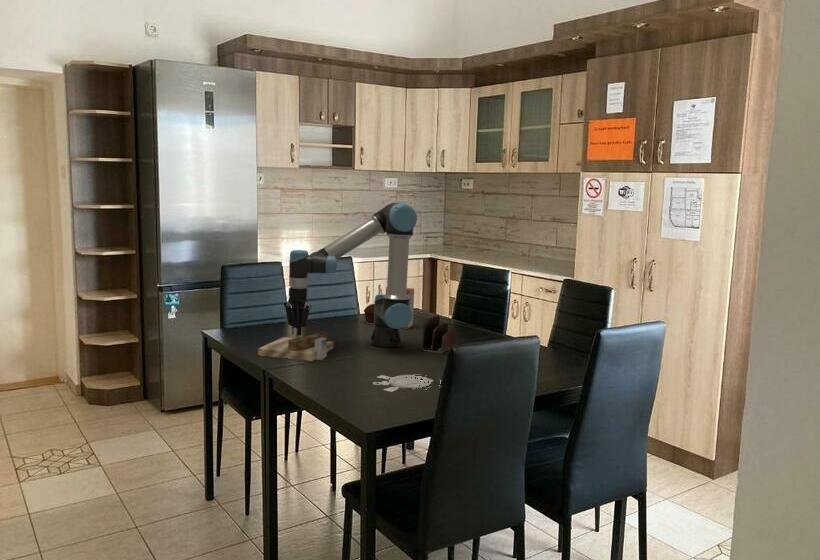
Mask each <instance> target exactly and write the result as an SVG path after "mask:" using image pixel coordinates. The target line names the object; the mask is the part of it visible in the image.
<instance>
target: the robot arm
mask: <svg viewBox="0 0 820 560" xmlns="http://www.w3.org/2000/svg"><path fill="white" fill-rule="evenodd" d="M417 222H418V215H417V212H416V210H415V209H414V207H412V206H411V205H409V204H407V203H403V202H401V203H399V202H392V203H389V204H387V205H386V206H384V207H382V208H381V209H380V210H378V211H377V212H375V213H374V214H372V215H371V217H370V219H368V220H367V221H365V222H363V223H362V224H360V225H358V226H357V227H354V228H353V229H352V230H350V231H348V232H347V233H345V234H344V235H342V236H340V237H338V238H337V239H336V240H334V241H332V242H331V243H329V244H327V245H325V246H324V247H323V248H320V249H319V250H317V251H313V252H311V253H310V254H309V251H308V250H304V249H302V250H301V249H293V250H291V251H290V252H289V261H288V262H289V263H288V264H289V266H288V267H289V270H288V272H289V275H288V277H289V278H288V280H289V281H288V286H289V287H288V297H289V298H288V300H287V301H285V302H283V306H284V308H285V314H286V319H287V325H288V326H290V327H291V329H292V331H291V334H292V336H293V337H292V338H293V339H296V338H300V337H301V335H302V329H303V327H306V326H307V322H308V318H309V315H310V314H309V313H310V310H312V307H313V306H312V304H309V303H308V300H307V296H308V288H307V287H308V274H327V275H329V274H335V273H336V272H337V266H338V264H337V263H338V259H341V257H343V256H345V255H346V254H348V253H350V252H351V251H353V250H355V249H357V248H358V247H360V246H362V245H363V244H365V243H366V242H368V241H369V240H371V239H373V238H374V237H376V236H378V235H379V234H383V235H384V234H386V236H388V238H389V240H388V258H387V259H388V263H387V278H386V281H387V282H386V287H387V293H386V292H385V294H376V295H375V296H374V301H373V304H375V307H374V325H373V328H372V330H371V335H370V337H369V345H371V346H373V345H375V347H378V346H382V347H381V348H391V347H390V346H398V345H401V344H402V345H403V341H404V339H403V336H402V332H401V329H403V328H404V327H405V326H407V325H408V324H409V322H410V320H411V317H412V313H411V310H410V308H409V299H410V298H409V296H408V295H407V294H406V290H407V288H408V270H409V269H408V266H409V250H410V239H411V238H412V237H413V236H414V228H415V226H416V224H417ZM402 345H401V346H402ZM398 347H399V346H398Z"/></svg>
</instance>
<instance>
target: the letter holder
mask: <svg viewBox="0 0 820 560" xmlns="http://www.w3.org/2000/svg"><path fill="white" fill-rule="evenodd" d="M440 320H441V318H440V315H435V316H432V317H430V318H428V319H426V321H424V323H423V328H422V340H421V345H422V346H421V351H422V350H431V351H437V350H438V349H439V348H441V347H442V351H444V350H446V349H447V348H448V347H449V348H450V347H451V345H452V346H453V344H455V343H456V342H458V337H457V336H458V331H457V328H453V329H450V330H449V324H448V323H449V322H443V323H441V324H440ZM441 345H442V346H441ZM431 346H432V349H431ZM429 348H430V349H429ZM447 350H448V349H447ZM448 351H449V350H448Z"/></svg>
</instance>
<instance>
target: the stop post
mask: <svg viewBox="0 0 820 560" xmlns="http://www.w3.org/2000/svg"><path fill="white" fill-rule="evenodd" d="M327 341H328V338H318V339H316V340H315V360H314V361H316V360H317V361H323V360H325V359H326V358H327V353H328V352H327ZM325 357H326V358H325Z"/></svg>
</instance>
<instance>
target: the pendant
mask: <svg viewBox="0 0 820 560" xmlns="http://www.w3.org/2000/svg"><path fill="white" fill-rule="evenodd" d="M421 374H422V373H421ZM421 374H419V375H421ZM415 375H417V374H416V373H415V374H402V375H397V376H394V377H391V376H387V375H384V374H381V375H378V376H376V378H378V379H382V378H383V380H382V381H381V382H380V381H373V382H372V384H373V385H374V386H375V385H376V386H380V385H382V386H389V385H391V387H387V388H383V389H382V390H383V391H386V392H390V393H393V392H394V391H397V390H399V388H400V389H406V388H412V389H411V390H419V389H423V388H422V387H425V390H427V389H428V388H427V387H426V386H429V385H430V384H431V385H432V383H431V382H433V381H434V380H433V379H431V378H427V377H422V376H415ZM406 377H407V378H406ZM411 377H412V378H411ZM415 377H416V379H415ZM389 378H390V379H389ZM417 378H418V379H417ZM421 378H422V379H423V380H420V379H421ZM387 380H388V381H387ZM439 380H440V384H441V381H442V380H441V379H439ZM420 381H421V382H420ZM428 381H429V383H428ZM424 382H425V383H424ZM419 385H420V386H419ZM431 385H430V386H431ZM430 386H429V387H430ZM439 386H440V385H439ZM416 388H417V389H416ZM418 388H419V389H418Z"/></svg>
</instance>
